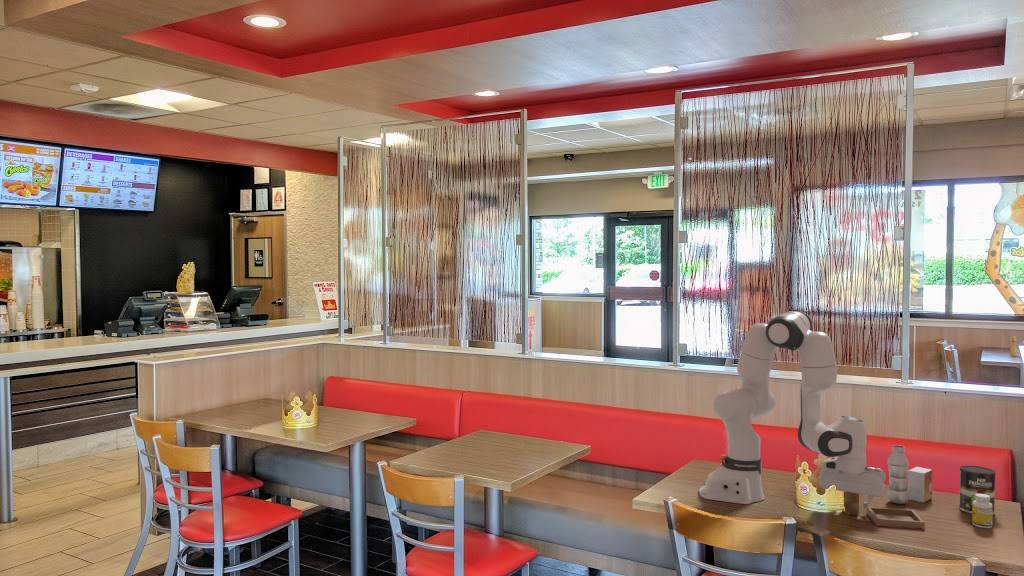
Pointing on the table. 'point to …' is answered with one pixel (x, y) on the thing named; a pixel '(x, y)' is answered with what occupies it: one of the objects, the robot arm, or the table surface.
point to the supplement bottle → (982, 511)
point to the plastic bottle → (898, 476)
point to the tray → (895, 517)
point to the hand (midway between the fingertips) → (850, 505)
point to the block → (851, 503)
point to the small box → (920, 484)
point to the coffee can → (975, 486)
